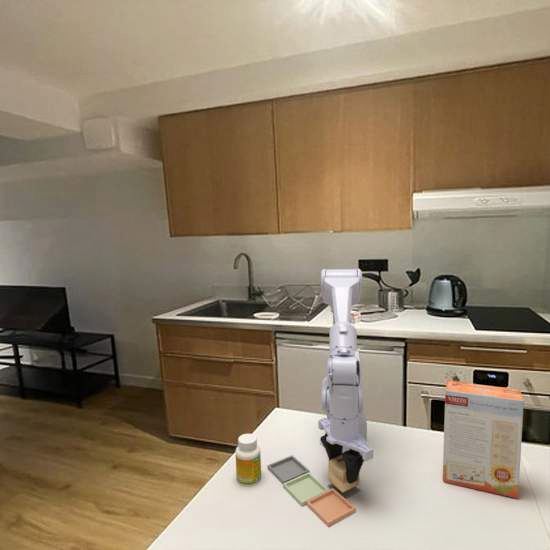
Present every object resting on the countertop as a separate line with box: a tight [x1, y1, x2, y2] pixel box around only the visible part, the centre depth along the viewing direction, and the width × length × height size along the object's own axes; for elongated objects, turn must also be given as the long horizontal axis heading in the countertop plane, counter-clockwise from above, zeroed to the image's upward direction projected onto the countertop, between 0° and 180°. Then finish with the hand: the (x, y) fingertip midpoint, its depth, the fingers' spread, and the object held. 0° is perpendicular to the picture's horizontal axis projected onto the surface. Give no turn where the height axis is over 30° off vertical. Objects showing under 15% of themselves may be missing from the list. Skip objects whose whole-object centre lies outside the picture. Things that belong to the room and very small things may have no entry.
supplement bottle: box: [235, 433, 262, 487], centre depth 87 cm, size 5×5×10 cm
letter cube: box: [327, 455, 360, 492], centre depth 83 cm, size 4×4×5 cm
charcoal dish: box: [266, 455, 311, 485], centre depth 89 cm, size 7×7×1 cm
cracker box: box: [442, 379, 525, 499], centre depth 83 cm, size 14×6×21 cm, turn 65°
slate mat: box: [326, 483, 362, 500], centre depth 83 cm, size 5×5×1 cm
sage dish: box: [282, 472, 330, 507], centre depth 83 cm, size 7×7×1 cm
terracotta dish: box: [305, 488, 357, 528], centre depth 78 cm, size 7×7×1 cm
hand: (344, 474), depth 83 cm, fingers closed on letter cube, 4 cm apart
